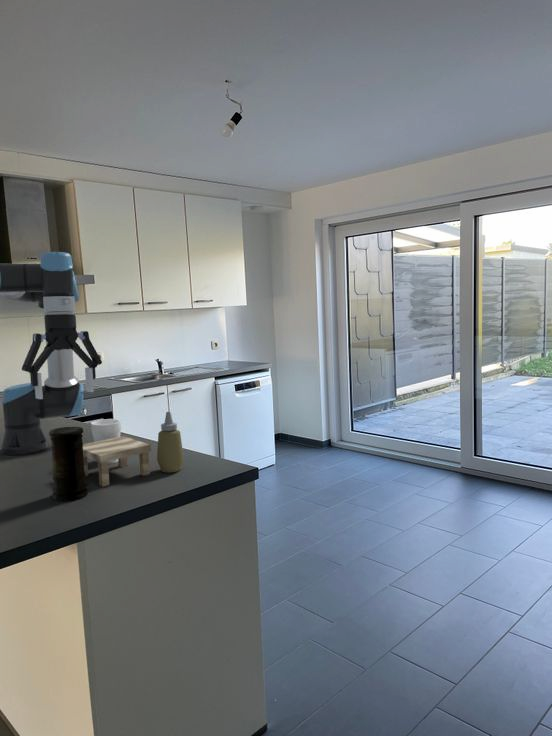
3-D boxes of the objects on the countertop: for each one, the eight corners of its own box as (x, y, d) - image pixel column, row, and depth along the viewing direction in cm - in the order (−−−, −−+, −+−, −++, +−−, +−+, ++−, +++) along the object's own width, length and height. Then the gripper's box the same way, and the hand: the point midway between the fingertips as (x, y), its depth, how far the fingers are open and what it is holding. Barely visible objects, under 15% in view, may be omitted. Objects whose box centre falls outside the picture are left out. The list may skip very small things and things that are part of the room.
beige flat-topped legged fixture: (76, 475, 164) (74, 446, 163) (124, 463, 175) (123, 436, 174) (101, 487, 153) (100, 455, 152) (152, 474, 164) (150, 444, 163)
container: (58, 491, 151) (53, 426, 149) (91, 489, 151) (87, 425, 149) (47, 502, 142) (42, 434, 140) (83, 500, 143) (78, 432, 140)
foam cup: (114, 466, 173) (112, 425, 172) (87, 464, 175) (85, 424, 174) (128, 457, 183) (126, 419, 181) (102, 456, 185) (100, 418, 183)
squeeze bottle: (189, 467, 170) (186, 410, 168) (176, 475, 162) (173, 415, 160) (166, 465, 173) (163, 409, 170) (152, 473, 165) (149, 414, 163)
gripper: (14, 314, 130) (21, 403, 133) (111, 312, 148) (116, 390, 150) (3, 315, 136) (10, 400, 138) (98, 312, 153) (102, 388, 155)
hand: (65, 395), depth 144 cm, fingers open, 13 cm apart
